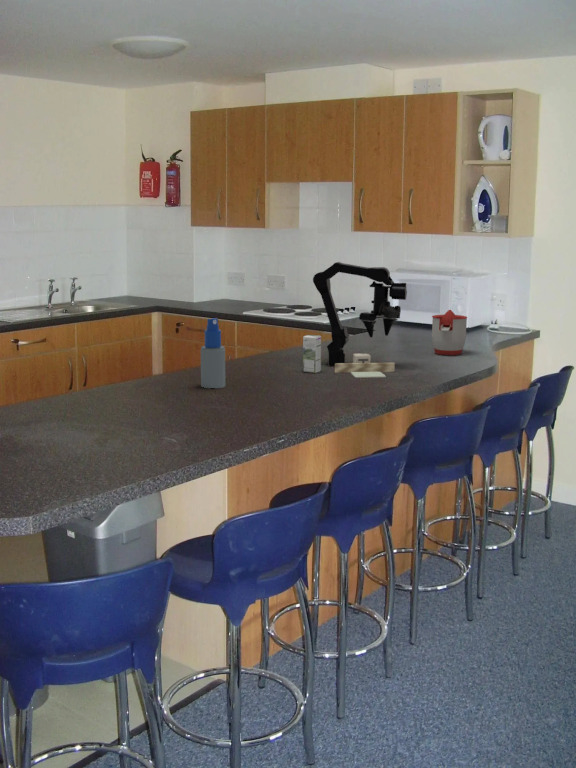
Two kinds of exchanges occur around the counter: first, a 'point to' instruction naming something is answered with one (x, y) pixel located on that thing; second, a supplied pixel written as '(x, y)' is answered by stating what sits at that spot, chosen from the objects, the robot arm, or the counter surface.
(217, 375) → the spray bottle
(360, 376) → the sage mat
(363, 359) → the letter cube
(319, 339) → the syrup box
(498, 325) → the counter surface
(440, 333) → the citrus juicer
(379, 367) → the birch screen
